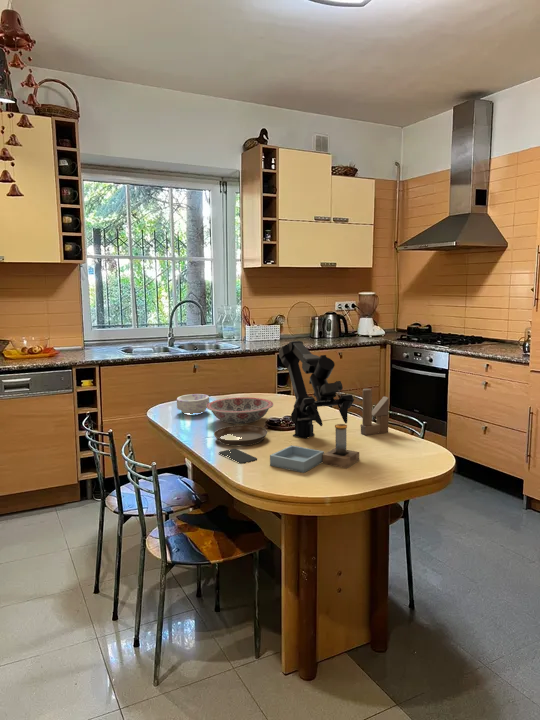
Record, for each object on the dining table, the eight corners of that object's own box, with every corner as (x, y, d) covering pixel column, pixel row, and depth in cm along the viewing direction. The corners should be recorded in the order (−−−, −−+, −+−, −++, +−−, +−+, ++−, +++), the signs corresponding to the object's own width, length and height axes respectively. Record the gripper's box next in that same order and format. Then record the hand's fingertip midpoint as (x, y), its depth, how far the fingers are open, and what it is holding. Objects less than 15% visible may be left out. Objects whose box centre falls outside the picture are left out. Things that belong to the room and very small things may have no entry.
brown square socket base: (322, 463, 176) (322, 454, 176) (335, 456, 183) (335, 447, 183) (346, 468, 171) (346, 459, 170) (359, 460, 178) (359, 451, 178)
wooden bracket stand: (388, 432, 211) (389, 388, 209) (365, 435, 207) (365, 390, 205) (383, 430, 215) (383, 386, 212) (360, 433, 211) (360, 388, 208)
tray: (270, 465, 175) (269, 455, 174) (291, 455, 185) (291, 445, 185) (303, 472, 167) (303, 462, 167) (324, 461, 178) (324, 451, 177)
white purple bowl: (170, 415, 246) (170, 399, 245) (188, 408, 260) (187, 392, 258) (199, 418, 240) (198, 401, 239) (215, 411, 254) (215, 394, 253)
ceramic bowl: (194, 427, 224) (193, 409, 223) (225, 412, 251) (225, 395, 250) (257, 433, 213) (257, 414, 212) (283, 416, 240) (283, 399, 239)
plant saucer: (249, 451, 192) (249, 442, 191) (203, 443, 202) (203, 435, 201) (277, 436, 209) (277, 428, 209) (233, 430, 219) (233, 422, 219)
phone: (240, 463, 177) (217, 452, 189) (240, 465, 177) (217, 454, 189) (258, 458, 181) (234, 448, 193) (258, 461, 181) (234, 450, 193)
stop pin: (332, 462, 177) (332, 426, 175) (338, 459, 180) (338, 423, 178) (343, 464, 174) (343, 427, 173) (349, 461, 178) (349, 425, 176)
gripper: (302, 375, 180) (315, 414, 171) (351, 371, 186) (366, 408, 177) (294, 393, 189) (306, 431, 180) (342, 389, 195) (355, 426, 186)
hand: (334, 424), depth 180 cm, fingers open, 9 cm apart
